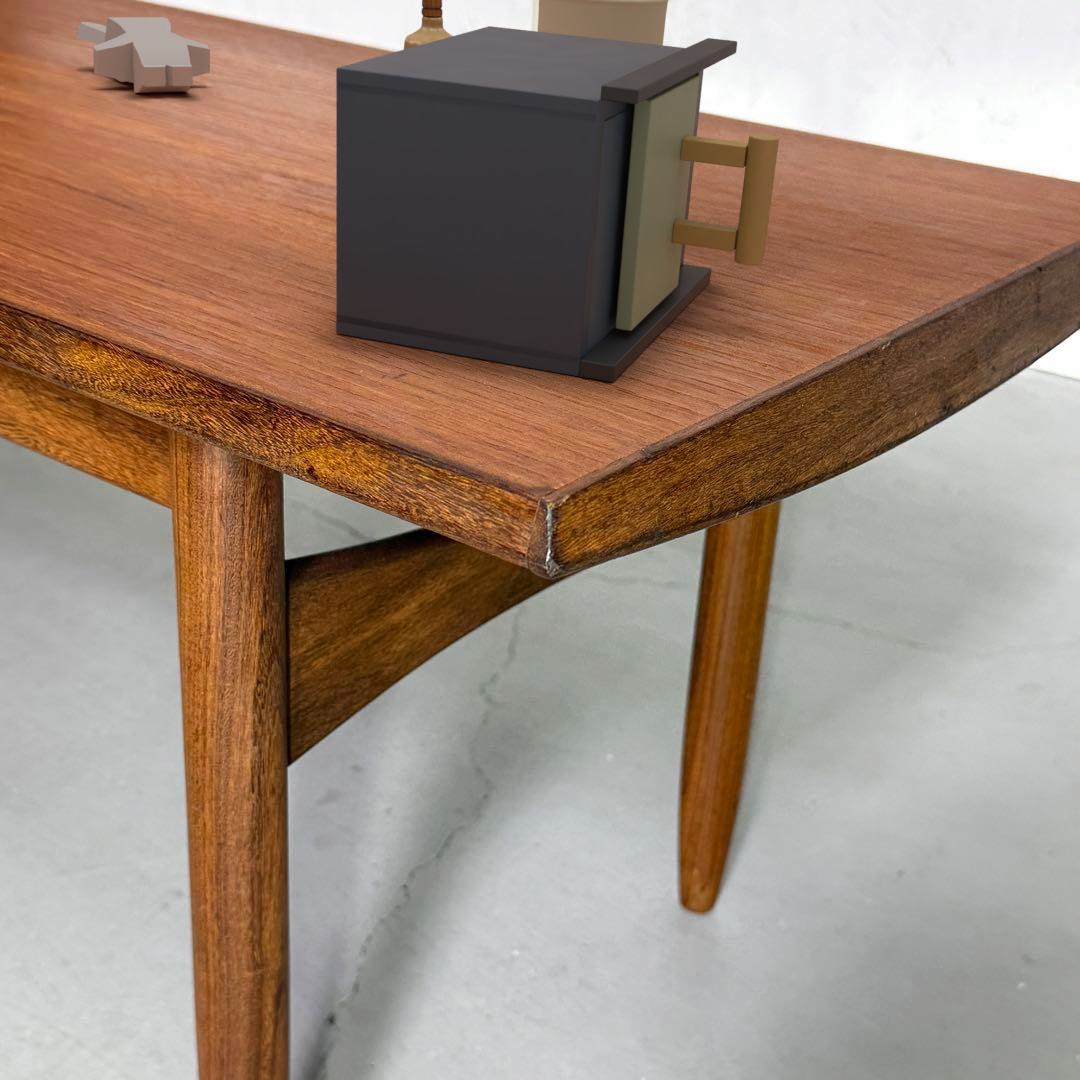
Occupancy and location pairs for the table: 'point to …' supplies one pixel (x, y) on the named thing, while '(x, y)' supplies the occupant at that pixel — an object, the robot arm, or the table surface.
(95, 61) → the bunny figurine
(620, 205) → the cabinet
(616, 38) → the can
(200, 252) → the table surface
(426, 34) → the hand bell
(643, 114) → the door
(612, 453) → the table surface
